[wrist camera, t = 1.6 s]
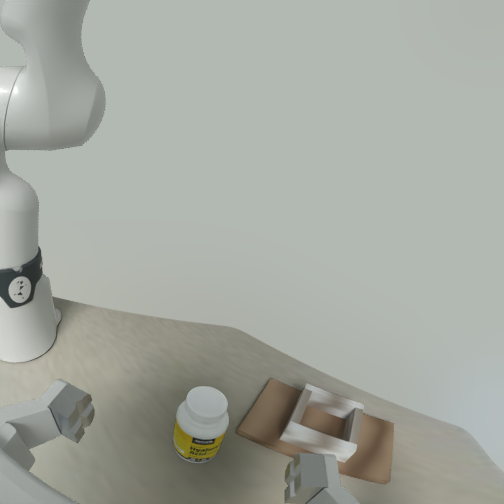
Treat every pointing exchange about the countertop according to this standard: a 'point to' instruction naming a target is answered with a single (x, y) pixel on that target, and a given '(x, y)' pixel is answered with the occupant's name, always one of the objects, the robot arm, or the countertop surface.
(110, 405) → the countertop surface
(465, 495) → the countertop surface
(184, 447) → the supplement bottle
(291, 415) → the jig board
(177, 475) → the countertop surface
